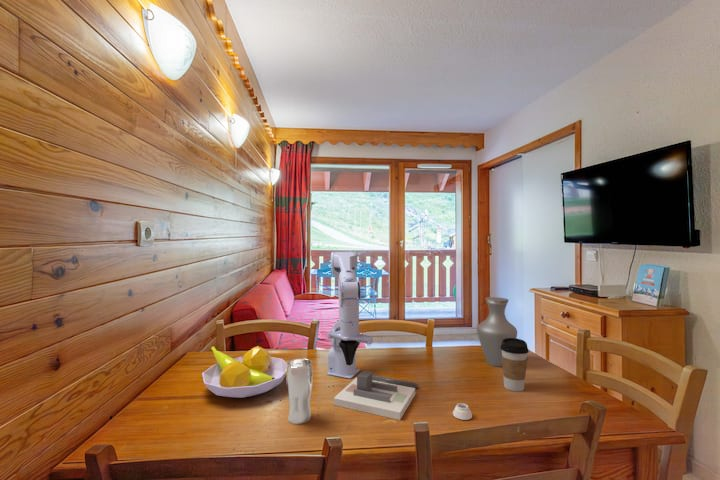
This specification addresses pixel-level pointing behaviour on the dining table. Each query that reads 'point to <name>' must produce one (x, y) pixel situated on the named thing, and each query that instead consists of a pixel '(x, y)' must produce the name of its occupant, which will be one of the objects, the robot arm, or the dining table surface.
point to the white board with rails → (378, 397)
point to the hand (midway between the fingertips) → (349, 364)
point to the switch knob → (364, 381)
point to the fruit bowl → (244, 373)
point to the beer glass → (299, 389)
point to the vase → (495, 330)
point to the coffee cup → (514, 363)
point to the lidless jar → (462, 412)
